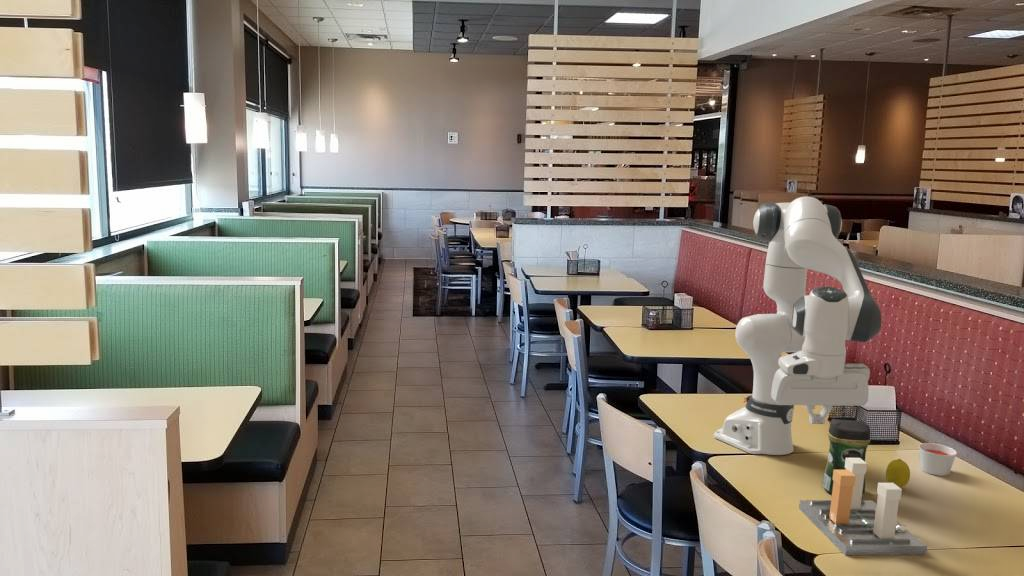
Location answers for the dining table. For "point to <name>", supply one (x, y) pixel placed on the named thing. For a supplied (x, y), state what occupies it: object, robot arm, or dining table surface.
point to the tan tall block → (841, 495)
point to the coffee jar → (845, 447)
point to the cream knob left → (858, 470)
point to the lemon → (898, 473)
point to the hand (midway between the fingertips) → (816, 423)
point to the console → (861, 531)
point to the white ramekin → (936, 458)
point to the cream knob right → (886, 510)
